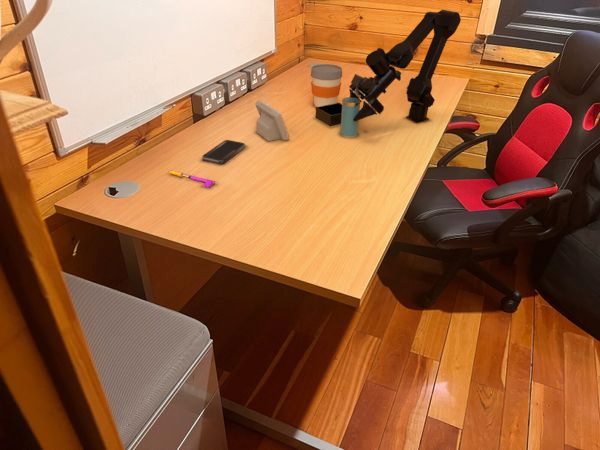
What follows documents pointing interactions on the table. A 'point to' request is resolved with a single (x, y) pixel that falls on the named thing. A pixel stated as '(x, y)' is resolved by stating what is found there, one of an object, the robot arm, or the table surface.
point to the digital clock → (270, 123)
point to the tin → (349, 116)
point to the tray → (329, 114)
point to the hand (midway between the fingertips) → (348, 115)
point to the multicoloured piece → (207, 181)
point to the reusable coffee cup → (325, 84)
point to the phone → (223, 151)
